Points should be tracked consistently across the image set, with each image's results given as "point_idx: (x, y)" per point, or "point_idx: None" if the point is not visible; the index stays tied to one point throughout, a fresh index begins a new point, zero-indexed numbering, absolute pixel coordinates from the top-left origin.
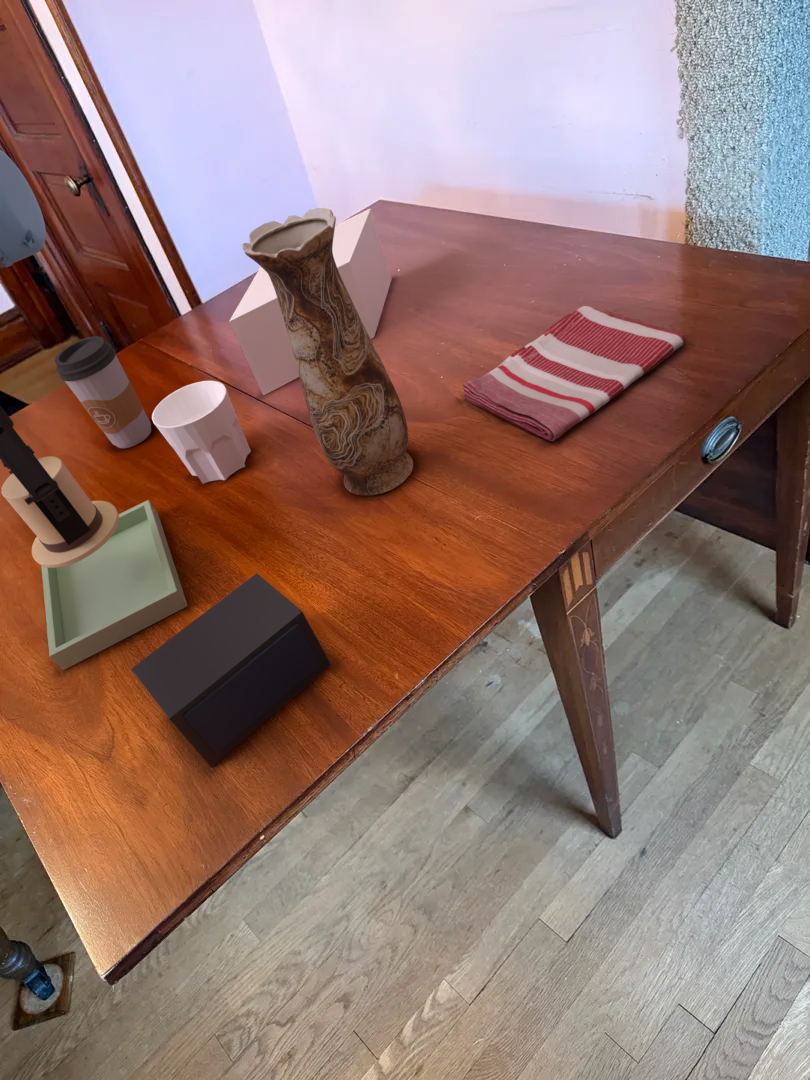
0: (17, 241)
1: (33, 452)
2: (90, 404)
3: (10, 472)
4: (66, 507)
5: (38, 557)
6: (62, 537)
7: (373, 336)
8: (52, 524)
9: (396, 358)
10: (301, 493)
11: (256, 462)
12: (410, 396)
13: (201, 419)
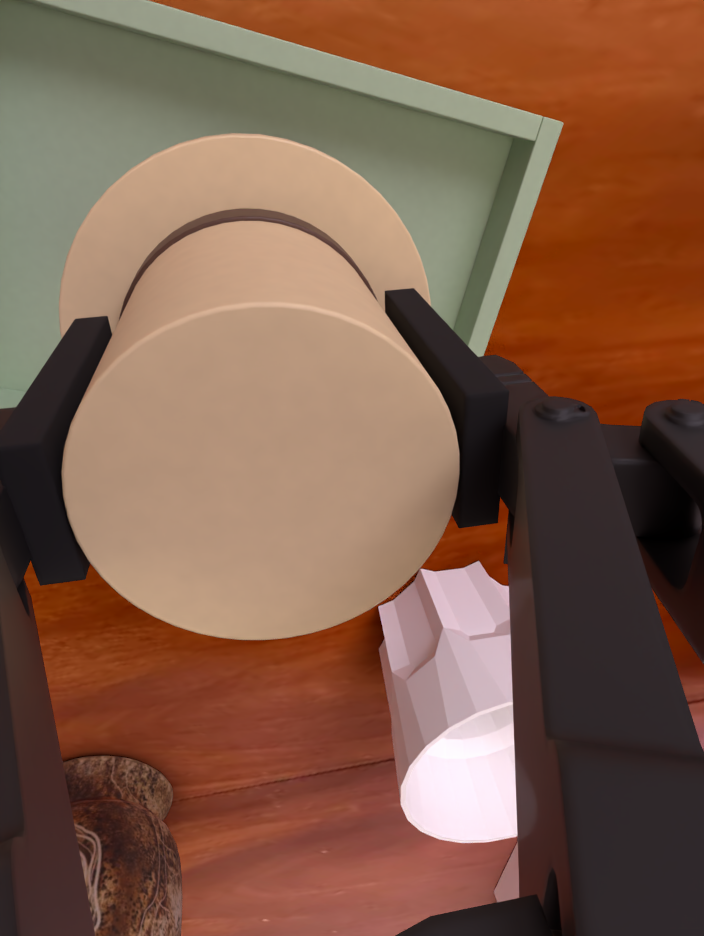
0: None
1: (505, 554)
2: None
3: (488, 398)
4: None
5: (212, 157)
6: (74, 332)
7: (494, 893)
8: (46, 366)
9: (395, 895)
10: (171, 696)
11: (368, 667)
12: (266, 882)
13: (400, 780)
